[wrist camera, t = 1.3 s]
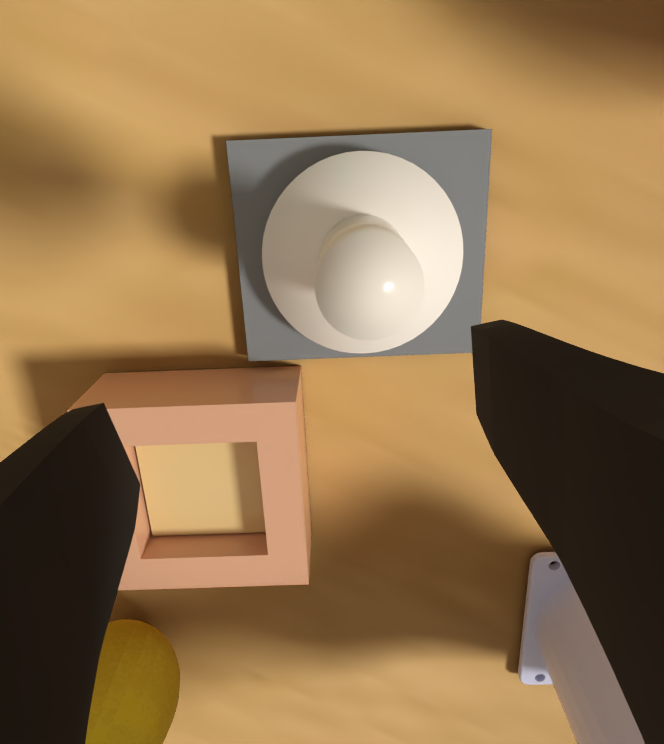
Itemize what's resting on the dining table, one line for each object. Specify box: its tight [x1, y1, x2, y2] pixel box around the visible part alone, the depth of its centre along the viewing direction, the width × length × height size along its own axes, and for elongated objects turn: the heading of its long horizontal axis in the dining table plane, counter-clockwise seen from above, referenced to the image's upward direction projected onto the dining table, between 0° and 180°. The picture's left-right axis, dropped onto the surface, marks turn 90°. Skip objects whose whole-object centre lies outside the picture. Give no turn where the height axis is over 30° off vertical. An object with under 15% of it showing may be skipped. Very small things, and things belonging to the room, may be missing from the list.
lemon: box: [85, 619, 180, 744], centre depth 24 cm, size 6×6×8 cm
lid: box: [262, 151, 463, 353], centre depth 18 cm, size 7×7×6 cm
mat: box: [226, 129, 492, 361], centre depth 21 cm, size 9×8×1 cm
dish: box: [67, 366, 312, 590], centre depth 23 cm, size 8×8×4 cm
